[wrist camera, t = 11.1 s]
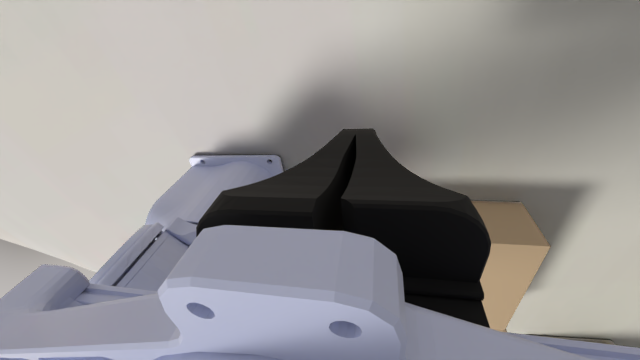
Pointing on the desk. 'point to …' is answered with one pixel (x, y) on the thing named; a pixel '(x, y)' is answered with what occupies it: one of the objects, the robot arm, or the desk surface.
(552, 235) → the desk surface
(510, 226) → the carton
